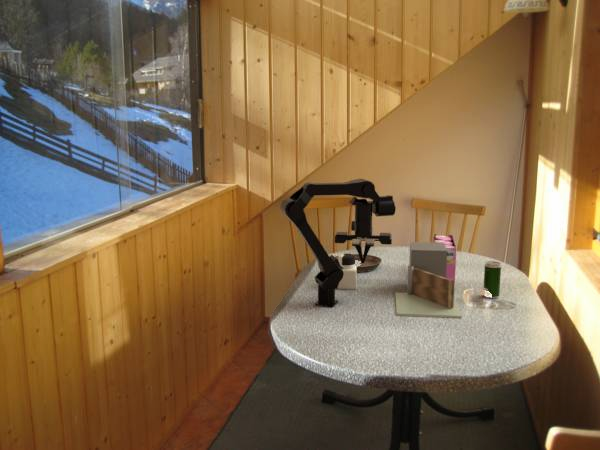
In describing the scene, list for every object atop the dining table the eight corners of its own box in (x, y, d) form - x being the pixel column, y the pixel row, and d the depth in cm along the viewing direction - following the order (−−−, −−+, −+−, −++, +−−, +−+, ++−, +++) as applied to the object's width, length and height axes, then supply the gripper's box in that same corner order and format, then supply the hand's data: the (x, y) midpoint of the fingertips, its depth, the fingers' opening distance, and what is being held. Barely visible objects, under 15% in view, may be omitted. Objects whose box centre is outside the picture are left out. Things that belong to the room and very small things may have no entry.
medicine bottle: (356, 283, 235) (356, 252, 232) (356, 289, 228) (356, 257, 225) (337, 283, 235) (337, 251, 233) (336, 289, 228) (336, 256, 226)
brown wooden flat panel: (412, 293, 219) (413, 268, 217) (415, 293, 220) (416, 268, 218) (450, 308, 204) (451, 281, 202) (453, 307, 205) (454, 280, 203)
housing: (395, 284, 234) (396, 241, 231) (450, 285, 231) (452, 243, 228) (396, 315, 201) (397, 266, 198) (461, 318, 198) (463, 268, 195)
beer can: (492, 300, 215) (494, 265, 213) (479, 295, 220) (481, 262, 217) (502, 297, 218) (504, 263, 216) (490, 293, 223) (492, 260, 220)
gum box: (431, 266, 259) (432, 233, 256) (451, 266, 258) (453, 233, 255) (433, 282, 236) (434, 247, 233) (455, 283, 234) (457, 247, 232)
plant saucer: (320, 269, 256) (320, 261, 255) (348, 258, 272) (348, 251, 271) (364, 277, 244) (364, 269, 243) (390, 266, 260) (391, 258, 259)
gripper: (391, 213, 217) (390, 257, 220) (337, 212, 219) (336, 256, 222) (392, 219, 206) (391, 266, 209) (334, 218, 208) (334, 264, 212)
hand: (362, 263), depth 213 cm, fingers closed
